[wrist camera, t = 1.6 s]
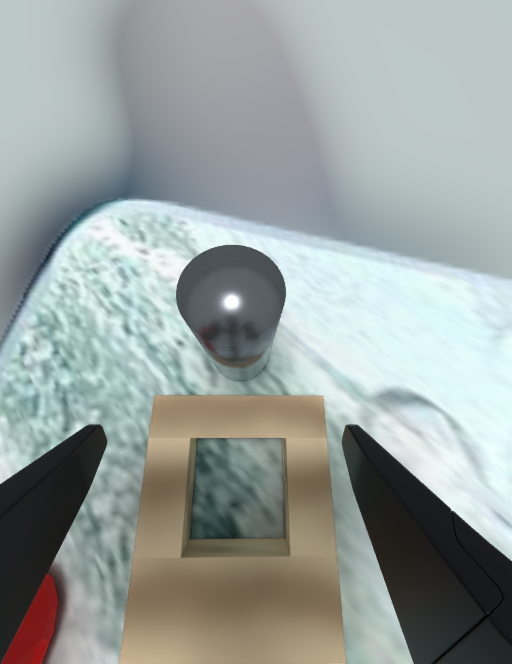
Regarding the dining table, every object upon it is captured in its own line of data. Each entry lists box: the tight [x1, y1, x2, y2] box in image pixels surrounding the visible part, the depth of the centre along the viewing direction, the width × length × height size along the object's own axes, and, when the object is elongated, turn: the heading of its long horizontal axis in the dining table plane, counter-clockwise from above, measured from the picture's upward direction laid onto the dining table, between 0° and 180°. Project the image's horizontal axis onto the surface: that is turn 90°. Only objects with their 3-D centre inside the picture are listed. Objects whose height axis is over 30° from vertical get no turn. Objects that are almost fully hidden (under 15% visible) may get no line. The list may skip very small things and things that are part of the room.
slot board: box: [119, 395, 346, 664], centre depth 18 cm, size 15×13×2 cm
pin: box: [176, 245, 286, 381], centre depth 17 cm, size 5×5×12 cm
